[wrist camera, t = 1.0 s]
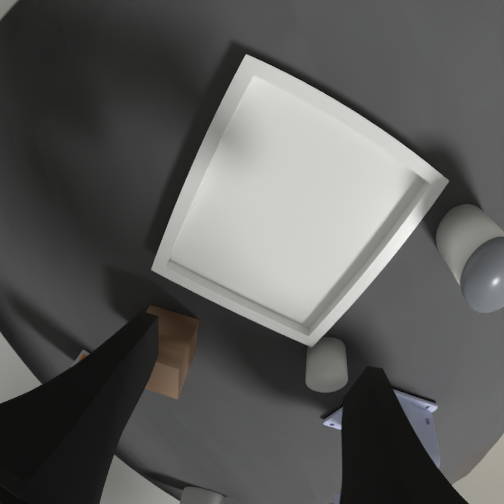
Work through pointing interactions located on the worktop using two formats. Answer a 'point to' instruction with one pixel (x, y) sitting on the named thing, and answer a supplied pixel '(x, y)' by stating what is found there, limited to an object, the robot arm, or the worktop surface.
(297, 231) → the tray
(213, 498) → the mug
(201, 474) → the worktop surface
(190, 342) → the walnut block
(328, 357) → the rubber stopper
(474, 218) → the sample jar
